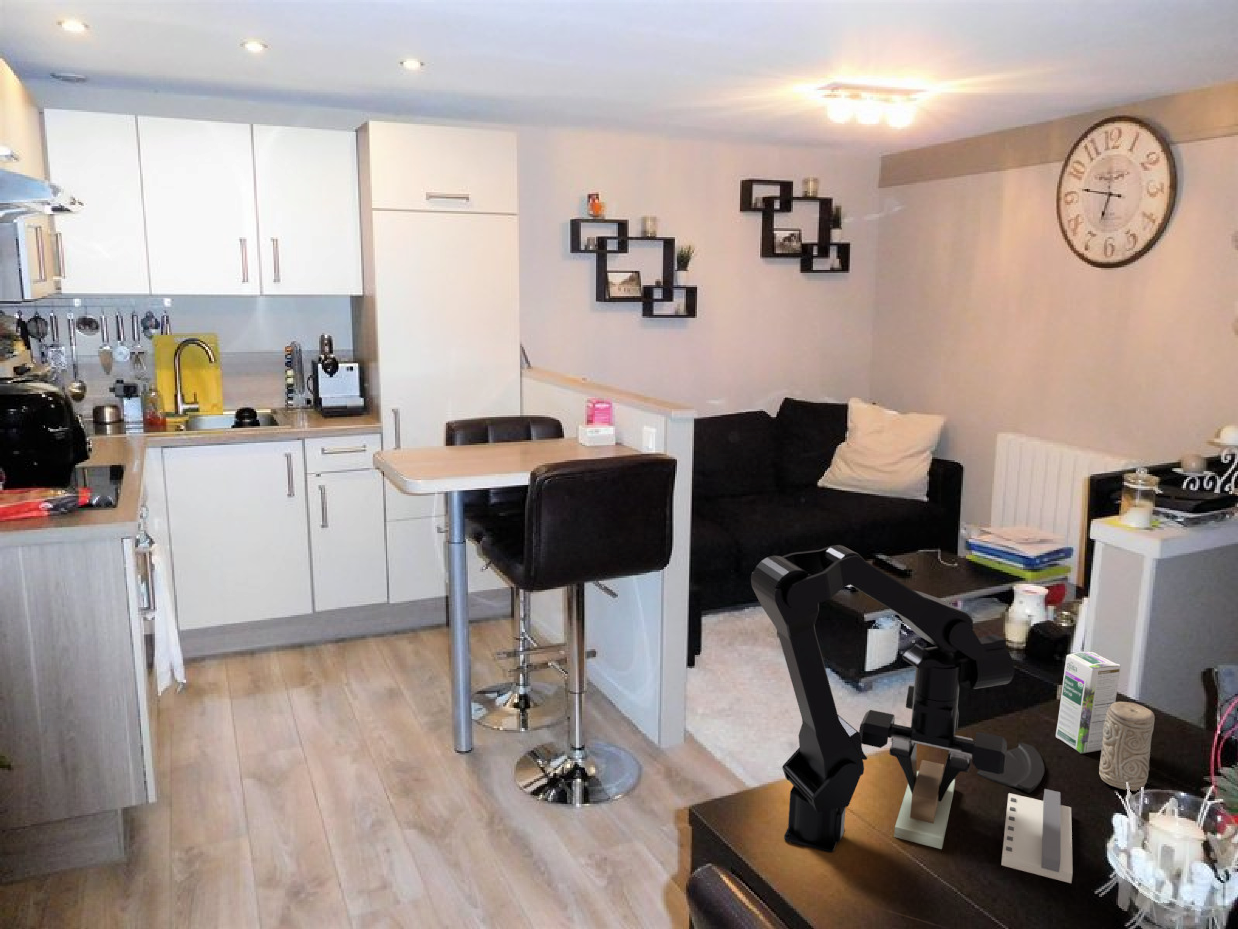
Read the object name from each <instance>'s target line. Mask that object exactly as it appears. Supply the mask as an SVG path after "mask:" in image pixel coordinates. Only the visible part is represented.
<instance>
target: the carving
mask: <svg viewBox="0 0 1238 929" xmlns="http://www.w3.org/2000/svg"><path fill="white" fill-rule="evenodd" d="M1155 719H1156V718H1155V713H1154V712H1153V711H1152V710H1151V709H1149V708H1146V707H1145V706H1143V705H1141V704H1138V703H1136V702H1127V701H1115V703H1113V704H1111V706H1110V707H1109V708H1108V711H1107V712H1106V718H1105V722H1104V728H1103V741H1102V744H1103V746H1102V750H1100V751H1101V752H1100V759H1099V760H1100V761H1099V767H1098V768H1099V771H1098V773H1099V777H1100V778H1101V780H1102V781H1103V782H1104V783H1105V784H1108V785H1109V786H1112V787H1115V788H1118V789H1121V790H1125V791H1127V790H1126V782H1129V786H1130V789H1131V792H1132V791H1133V792H1138V791H1137V790H1139V788H1140V787H1144V788H1145V785H1146V784H1147V782H1148V778H1149V771H1150V757H1151V753H1150V752H1151V744H1152V737H1153V736H1152V735H1153V732H1154V727H1155Z"/></svg>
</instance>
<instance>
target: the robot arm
mask: <svg viewBox="0 0 1238 929" xmlns="http://www.w3.org/2000/svg"><path fill="white" fill-rule="evenodd" d="M750 582H751V588H752V590H753V591H754V593H755V596H756V598H757V600H758V603H759V604H760V606H761V608H762V609H763V610H764V612H765V614H766V615H767V616H768V618H769V620H770V621H771V623H772V624H773V625H774V627H775V629H776V631H777V635H778V638H779V642H780V645H781V648H782V652H783V655H784V659H785V663H786V667H787V670H788V674H789V677H790V681H791V684H792V687H793V691H794V696H795V699H796V702H797V705H798V709H799V713H800V717H801V726H800V730H799V733H798V743H799V747H798V748H797V749H796V750H795V751H794V753H793V754H792V755H791V756H790V757H789V758H788V759H787V761H786V762H785V763H783V765H782V770H783V771H782V772H783V773H784V774H783V775H784V776H785V779H786V781H789V782H790V783H791V784H792V787H791V789H790V792H789V804H788V805H789V806H788V821H787V822H788V824H787V826H788V827H787V829H786V830H785V832H784V835H783V839H784V841H786V842H789V843H794V844H795V845H800V846H804V847H807V848H811V849H814V850H818V851H821V852H826V853H829V854H831V853H834V850H836V849H835V848H836V846H837V843H840V842H841V840H842V838H843V836H844V832H845V821H846V808H847V807H848V808H849V806H850V804H851V801H852V798H853V795H854V793H855V791H856V788H857V786H858V783H859V781H860V778H861V777H862V776H863V775H864V771H865V764H864V763H865V762H864V761H867V759H868V757H867V755H866V754H865V753H864V750H863V746H862V745H865V746H869V747H873V748H874V747H875V748H878V749H881V748H884V746H886V745H887V744H888V740H889V738H890V742H891V746H890V747H889V752H888V753H889V755H890V756H892V757H895V758H896V759H897V762H898V763H899V765H900V767H901V769H902V771H903V773H904V777H905V778H906V781H907V785H908V784H909V787H910V790H911V793H913V790H914V786H915V783H916V779H917V771H918V768H917V766H918V765H917V764H918V763H917V749H918V745H922V746H927V747H931V748H936V749H941V750H946V751H948V754H947V757H946V761H945V764H944V771H943V776H942V780H941V784H940V788H939V792H938V801H940V802H941V800H942V799H943V797H944V795H945V793H946V791H947V789H948V787H949V786H950V784H951V782H952V781H953V780H954V779H955V780H956V777H957V776H958V775H959V774H960V772H963V773H968V772H969V771H970V768H971V767H970V766H971V763H972V765H974V767H975V768H976V769H977V770H978V771H979V770H982V771H987V772H991V773H996V774H1002V773H1004V766H1005V758H1006V752H1007V748H1008V742H1007V740H1006V739H1005V738H1004V737H1003V736H999V735H995V734H990V733H985V732H982V731H981V732H980V731H976V733H975V739H973V738H971V737H965V736H962V735H956V732H957V731H958V725H959V714H960V713H959V708H958V704H959V695H960V694H959V693H960V684H961V686H963V688H965V689H968V690H975V689H982V688H989V687H994V686H1002V685H1007V684H1009V683H1010V682H1011V681H1012V680H1013V678H1014V677H1015V672H1016V671H1015V670H1016V667H1015V666H1014V661H1013V658H1012V656H1011V654H1010V651H1009V650H1008V649H1007V648H1006V645H1007V640H1006V638H1003V637H1002V636H999V635H997V634H989V635H986V636H984V637H978V636H977V634H976V632H975V631H974V626H973V625H974V620H973V618H972V616H971V615H970V614H968V613H967V612H965V611H963V610H961V609H960V608H958V607H956V606H954V605H952V604H950V603H948V602H946V601H944V600H942V599H940V598H939V597H936V596H933V595H930V594H927V593H924V592H922V591H917V590H914V589H911V588H910V587H908V586H907V585H905V584H904V583H902V582H901V581H898V580H897V579H896V578H894V577H892V576H891V575H889V574H887V573H885V572H884V571H883V570H882V569H880V568H878V567H876V566H874V565H873V564H871V563H870V562H868V561H867V560H865V559H864V558H863V557H862V556H861V555H860V554H859V553H858V552H855V551H853V550H851V549H849V548H847V547H845V546H844V545H841V544H837V545H830V546H827V547H824V548H821V549H816V550H808V551H807V550H806V551H797V552H791V553H788V554H785V555H783V556H781V555H771V556H767V557H766V558H764V559H762V560H760V562H759V563H757V565H756V566H755V568H754V570H753V572H751V576H750ZM848 586H851V587H853V588H855V589H857V591H860V592H861V593H863V594H864V595H867V596H868V597H870V598H872V599H873V600H875V601H876V602H879V603H880V604H882V605H883V606H885V607H886V608H888V609H890V610H891V611H893V612H894V613H896V615H897V616H899V618H900V620H902V622H903V623H904V624H905V625H906V626H907V627H908V628H909V629H910V630H911V631H913V633H915V634H916V635H917V636H918V637H921V638H922V639H924V640H925V641H927V642H929V643H930V644H932V645H934V646H933V647H932V646H931V647H926V648H925V647H923V646H921V645H920V644H918V643H915V644H914V645H913V647H912V648H910V649H908V650H906V651H905V652H904V653H903V654H902V655H901V658H902V659H903V661H906V662H907V663H909V664H910V665H911V666H913V667H915V672H914V684H913V685H908V689H907V694H906V702H905V708H906V709H910V710H911V720H910V727H909V726H905V725H901V724H896V723H895V722H896V720H895V719H896V717H895V716H896V715H895V714H893V713H887V712H882V711H878V710H873V709H870V710H868V711H866V712H865V714H864V716H863V718H862V720H861V723H860V725H859V730H857V729H855V727H853V726H852V725H851V724H850V723H849V722H847V721H846V720H845V719H844V718H843V717H842V716H840V715H839V714H838V712H837V707H836V703H835V700H834V696H833V691H832V689H831V688H832V687H831V685H830V681H829V677H828V674H827V673H828V672H827V670H826V665H825V661H824V658H823V655H822V650H821V647H820V643H819V640H818V636H817V632H816V627H815V624H816V621H817V618H818V614H819V611H820V603H823V602H827V601H829V600H831V599H832V598H833V597H835V595H836V594H838V593H839V592H840V591H842V589H843V588H845V587H848Z"/></svg>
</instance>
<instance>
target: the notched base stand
mask: <svg viewBox="0 0 1238 929" xmlns="http://www.w3.org/2000/svg"><path fill="white" fill-rule="evenodd" d="M1043 792H1044V793H1043V799H1042V800H1040V799H1036V798H1032V797H1027V796H1022V795H1019V794H1015V793H1010V792H1009V793H1008V794H1007V804H1006V805H1007V806H1006V816H1005V825H1004V832H1003V833H1004V836H1003V843H1002V854H1001V866H1003V867H1007V868H1011V869H1014V870H1018V871H1023V872H1025V873H1030V874H1035V875H1038V876H1042V877H1045V878H1049V879H1052V880H1058V881H1061V882H1065V883H1069V884H1072V881H1073V872H1074V871H1073V839H1072V838H1073V836H1072V835H1073V832H1072V827H1073V826H1072V806H1071V807H1070V806H1066V805H1063V804H1061V792H1060V791H1055V790H1051V789H1048V788H1047V789H1046V788H1044V790H1043Z"/></svg>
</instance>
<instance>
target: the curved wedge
mask: <svg viewBox="0 0 1238 929" xmlns="http://www.w3.org/2000/svg"><path fill="white" fill-rule="evenodd" d="M1037 750H1038V749H1036V748H1035V747H1034V746H1033V745H1030V744H1027V743H1024V742H1021V741H1018V746H1017V747H1015V748H1012V749H1008V750H1006V758H1005V766H1004V773H1002V774H996V773H991V772H987V771H982V770H978V771H977V772H976V775H978V776H979V777H982V778H984V779H987V780H989V781H991V780H992V782H995V783H997V784H1000V785H1004V786H1007V787H1009V788H1010V787H1011V788H1013V789H1018V790H1020V791H1023V792H1025V793H1026V794H1027V793H1028V794H1030V793H1031V792H1033V791H1034V790H1035V789H1036V788H1037V787H1038V786H1039V785H1040V784H1041V782H1042V780H1043V776H1044V775H1045V764H1044V760H1043V759H1042V756H1041V754H1040V753H1039V752H1038V751H1037Z"/></svg>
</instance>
